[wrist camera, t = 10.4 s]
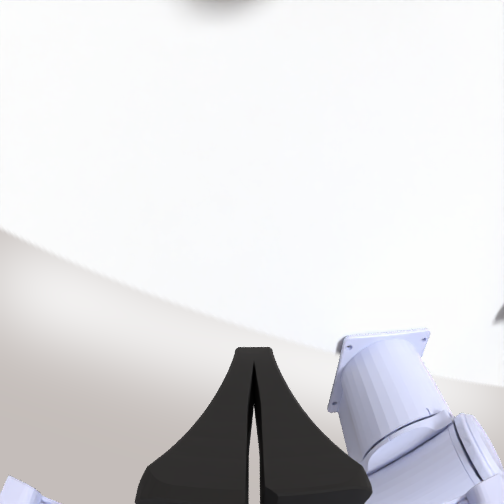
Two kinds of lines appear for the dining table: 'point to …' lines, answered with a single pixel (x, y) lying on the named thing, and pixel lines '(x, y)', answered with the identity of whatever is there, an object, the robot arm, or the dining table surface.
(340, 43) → the dining table surface
